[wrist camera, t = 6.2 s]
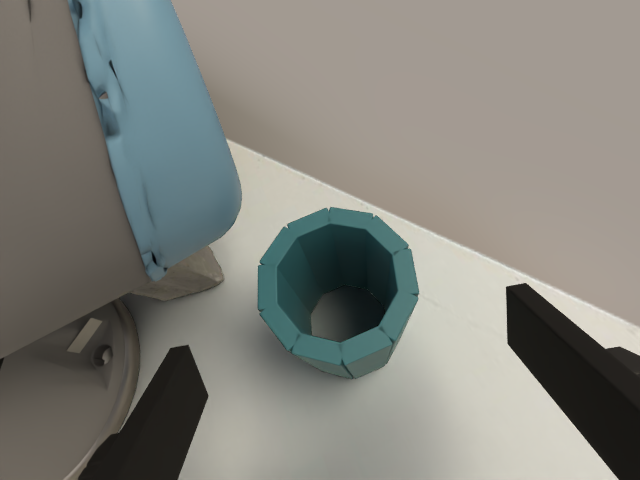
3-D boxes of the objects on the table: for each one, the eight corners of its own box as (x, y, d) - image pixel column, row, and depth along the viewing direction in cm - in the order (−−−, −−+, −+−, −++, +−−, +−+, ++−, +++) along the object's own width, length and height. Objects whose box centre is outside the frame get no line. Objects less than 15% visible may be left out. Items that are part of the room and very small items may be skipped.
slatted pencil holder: (278, 342, 25) (225, 309, 16) (332, 257, 27) (312, 185, 18) (367, 400, 23) (364, 401, 14) (418, 303, 25) (445, 247, 16)
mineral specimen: (175, 197, 30) (130, 147, 22) (237, 275, 28) (210, 251, 21) (97, 251, 29) (19, 217, 21) (157, 337, 27) (97, 335, 19)
